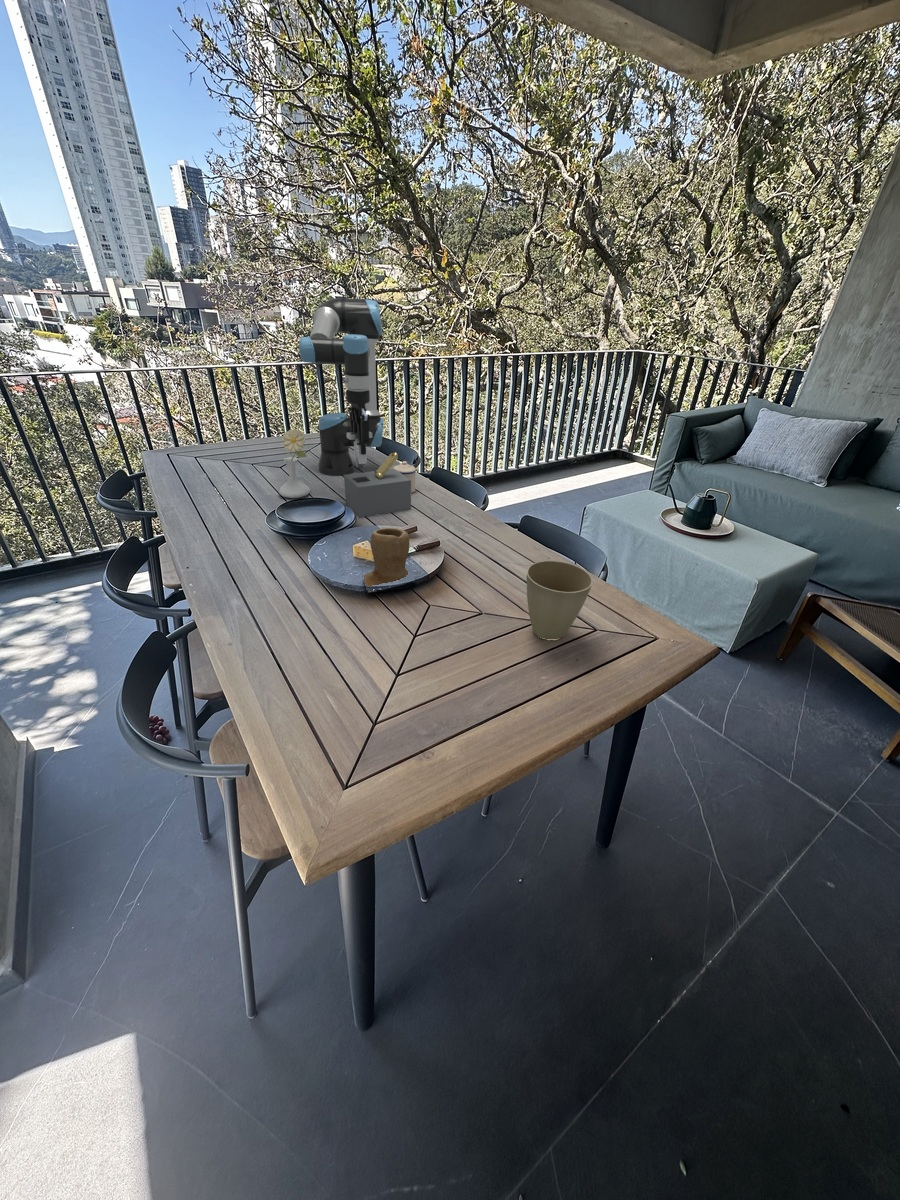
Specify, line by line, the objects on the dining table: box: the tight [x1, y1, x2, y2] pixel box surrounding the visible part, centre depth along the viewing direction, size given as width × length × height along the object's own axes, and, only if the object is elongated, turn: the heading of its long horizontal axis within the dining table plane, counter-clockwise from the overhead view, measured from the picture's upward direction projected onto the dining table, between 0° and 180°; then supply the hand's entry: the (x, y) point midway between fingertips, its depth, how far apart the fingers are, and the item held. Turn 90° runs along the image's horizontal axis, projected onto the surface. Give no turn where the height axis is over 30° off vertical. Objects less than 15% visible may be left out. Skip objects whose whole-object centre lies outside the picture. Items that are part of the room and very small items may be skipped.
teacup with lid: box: [392, 460, 417, 494], centre depth 196 cm, size 12×9×12 cm
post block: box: [343, 468, 412, 518], centre depth 181 cm, size 14×20×11 cm
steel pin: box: [347, 431, 372, 469], centre depth 170 cm, size 3×8×12 cm, turn 120°
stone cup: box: [363, 527, 410, 593], centre depth 134 cm, size 15×12×15 cm
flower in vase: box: [278, 428, 311, 499], centre depth 183 cm, size 13×11×25 cm
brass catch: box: [374, 451, 399, 479], centre depth 178 cm, size 4×11×2 cm
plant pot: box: [526, 560, 594, 639], centre depth 117 cm, size 15×15×16 cm
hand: (360, 461), depth 172 cm, fingers closed on steel pin, 3 cm apart
